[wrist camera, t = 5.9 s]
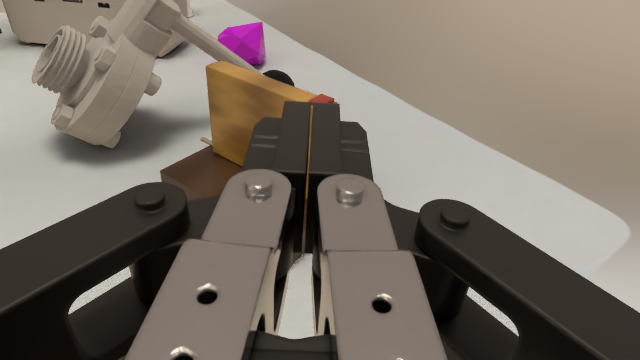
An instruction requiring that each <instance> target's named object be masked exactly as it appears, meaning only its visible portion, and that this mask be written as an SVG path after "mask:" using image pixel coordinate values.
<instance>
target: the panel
mask: <svg viewBox="0 0 640 360" xmlns="http://www.w3.org/2000/svg"><path fill="white" fill-rule="evenodd" d="M200 140H201V141H203V142H205V143H207V144H209V145H210V146H208V147H206V148H204V149H202V150H200V151H198V152H196V153H194V154H192V155H190V156H188V157H186V158H184V159H182V160H180V161H178V162H176V163H174V164H172V165H170V166H169V167H167V168H165V169H163V170H161V171H160V174H161V179H162V182H163V183H169V184H173V185H176V186H178V187H180V188H181V189H182V190H183V191H184V192H185V194H186V196H187V201H189V200H196V199H202V198H208V197H213V196H216V195H219V194H222V192H223V190H224V188H225V186H226V184H227V182H228V180H229V179H230V178H231V177H233V176H234V175H236V174H238V173H240V172H241V170H242V166H240V165H238V164H236V163H234V162H232V161H230V160H228V159H226V158H224V157H222V156H220V155H219V154H217V153H215V152H213V144H212V141H210V140H208V139H206V138H204V137H203V138H201V139H200ZM306 215H307V199H306V198H305V213H304V227H303V241H302V253H293V258H292V263H293V262H294V261H295V260H296V259H297V258H298V257H299V256H300V255H301V254H303V253H304V252H305V234H306Z"/></svg>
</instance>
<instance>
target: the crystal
mask: <svg viewBox="0 0 640 360" xmlns="http://www.w3.org/2000/svg"><path fill="white" fill-rule="evenodd" d="M218 42H220V43H221V44H223V45H224V46H225V47H227V48H228V49H229V50H231V51H232V52H233V53H235V54H236V55H238V56H239V57H240V58H242V59H243V60H244V61H246V62H247V63H248V64H250V65H258V64H261V63H262V62H263V60H264V58H265V57H266V56H265V44H264V35H263V25H262V22H259V23H253V24H247V25H241V26H235V27H228V28H227V29H225V30H224V31H223V32H222V33H221V34H220V35H219V37H218Z"/></svg>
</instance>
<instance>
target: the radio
mask: <svg viewBox="0 0 640 360" xmlns="http://www.w3.org/2000/svg"><path fill="white" fill-rule="evenodd" d="M2 1H3V4H4V7H5V10H6V13H7V16H8V19H9V22H10V25H11V28H12V31H13V33H14V34H16V35H17V37H18V38H19V39H20V41H22V42H26V43H27V44H30V43H41V44H47V43H48V42H49V40H50V39H51V37H52V36H53V35H54V33H55V32H56V31H57V30H58V29H59V28H60V27H61V26H63V25H64V26H66V25H69V26H70V28H74V29H75V30H76V31H79V32H80V33H81V34H84V35H85V36H86V41H87V44H88V43H89V41H90V40H91V39H92V36H91V35H89V31H90V26H91V24H92V22H93V21H94V20H95V19H96V18H97V17H98V16H103V17H104V18H106V19H107V20H109V21H110V20H112V19H114V18H115V16H116V15H117V14H118V12H119V11H120V9H121V8H122V6H123V5H124V3H125V2H126V1H127V0H2ZM173 1H174V2H175V3H176V4H177V5H178V6H179V7H180V8H181V13H180V14H182V15H183V16H184V17H186V18H187V19H188V11H187V0H173ZM169 29H170V31H171V32H172V37H171V38H170V40H169V41H168V42H167V44H166V45H165V46H164V48H163V49H162V50H161V52H160V53H159V54H158V57H163V55H165V54H167V53H168V52H170V51H171V50H173V49H174V48H175V47H177V46H178V45H180V44H181V43H182V42H183V40H184V39H185V38H184V37H183V36H181V35H180V34H178V33H177V32H175V31H174V30H172V29H171V28H169ZM87 44H86V45H87Z"/></svg>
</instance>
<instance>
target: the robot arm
mask: <svg viewBox="0 0 640 360" xmlns="http://www.w3.org/2000/svg"><path fill="white" fill-rule="evenodd" d="M310 113H311V102H302V101H285V102H284V107H283V112H282V117H281V118H277V117H264V118H263V119H262V120H260V121H259V122H258V123H257V124H255V125H254V129H253V132H252V135H251V139H250V142H249V146H248V149H247V153H246V156H245V159H244V163H243V166H242V170H241V172H240V173H238V174H236V175H234V176H233V177H231V178H230V179H229V180H228V182H227V184H226V186H225V188H224V190H223V192H222V194H219V195H216V196H213V197H208V198H202V199H196V200H189V201H187V196H186V194H185V192H184V191H183V190H182V189H181V188H180V187H178V186H176V185H173V184H169V183H163V182H153V183H146V184H141V185H138V186H135V187H133V188H130V189H128V190H126V191H124V192H122V193H120V194H117V195H115V196H113V197H111V198H109V199H107V200H105V201H103V202H100V203H98V204H96V205H94V206H92V207H90V208H88V209H86V210H83V211H81V212H79V213H77V214H75V215H73V216H71V217H68V218H66V219H64V220H62V221H60V222H58V223H56V224H54V225H51V226H49V227H47V228H45V229H43V230H41V231H39V232H37V233H34V234H32V235H30V236H28V237H26V238H24V239H22V240H20V241H17V242H15V243H13V244H11V245H9V246H7V247H5V248H2V249H0V360H640V313H639V312H637V311H636V310H634V309H633V308H631V307H629V306H628V305H626V304H625V303H623V302H622V301H620V300H618V299H617V298H615V297H614V296H612V295H611V294H609V293H607V292H606V291H604V290H603V289H601V288H600V287H598V286H596V285H595V284H593V283H592V282H590V281H589V280H587V279H585V278H584V277H582V276H581V275H579V274H578V273H576V272H574V271H573V270H571V269H570V268H568V267H567V266H565V265H563V264H562V263H560V262H559V261H557V260H556V259H554V258H552V257H551V256H549V255H548V254H546V253H545V252H543V251H541V250H540V249H538V248H537V247H535V246H534V245H532V244H530V243H529V242H527V241H526V240H524V239H523V238H521V237H519V236H518V235H516V234H515V233H513V232H512V231H510V230H508V229H507V228H505V227H504V226H502V225H501V224H499V223H497V222H496V221H494V220H493V219H491V218H490V217H488V216H486V215H485V214H483V213H482V212H480V211H479V210H477V209H475V208H474V207H472V206H470V205H468V204H466V203H463V202H460V201H456V200H449V199H438V200H433V201H430V202H428V203H426V204H424V205H423V206H422V208H421V209H420V212H419V213H417V212H414V211H410V210H406V209H403V208H400V207H397V206H395V205H392V204H391V203H389V202H387V201H386V200H384V199H383V195H382V192H381V190H380V188H379V187H378V186H377V185H376V184H375V183H374V181H373V175H372V168H371V161H370V154H369V147H368V141H367V134H366V131H365V130H364V129H363V128H362V127H361V126H360V125H359V124H358V122H345V121H340V107H339V104H336V103H319V102H313V115H312V130H311V145H310V161H309V177H308V196H307V215H306V234H305V253H311V254H313V259H312V277H311V286H312V304H313V322H314V336H313V337H308V338H302V339H288V338H284V337H281V336H278V331H279V326H280V321H281V316H282V311H283V306H284V301H285V296H286V291H287V286H288V281H289V270H290V268H291V265H292V258H293V253H302V241H303V227H304V213H305V198H306V184H307V169H308V152H309V132H310ZM128 266H129V269H130V272H131V277H129V278H128V279H126V280H125V281H123V282H121V283H120V284H118V285H116V286H115V287H113V288H112V289H110V290H108V291H107V292H105V293H103V294H102V295H100V296H99V297H97V298H95V299H94V300H92V301H90V302H89V303H87V304H86V305H84V306H82V307H81V308H79V309H77V310H76V311H74V312H73V313H71V314H69V315H68V312H69V309H70V307H71V305H72V303H73V302H74V301H75V300H76V299H77V298H78V297H79V296H80V295H81V294H83V293H84V292H86V291H87V290H89V289H91V288H93V287H94V286H96V285H98V284H99V283H101V282H103V281H104V280H106V279H108V278H109V277H111V276H113V275H114V274H116V273H118V272H119V271H121V270H123V269H124V268H126V267H128ZM469 287H471V288H472V289H473V290H474V291H476V292H477V293H478V294H480V295H481V296H482V297H483V298H485V299H486V300H487V301H489V302H490V303H491V304H492V305H494V306H495V307H496V308H498V309H499V310H500V311H501V312H503V313H504V314H505V315H506V316H508V317H509V318H510V319H511V320H512V322H513V323H514V324H515V326H516V328H517V330H518V333H519V337H518V336H517V335H516V334H515V333H513V332H512V331H511V330H510V329H508V328H507V327H506V326H505V325H503V324H502V323H501V322H500V321H498V320H497V319H496V318H495V317H493V316H492V315H491V314H490V313H488V312H487V311H486V310H485V309H483V308H482V307H481V306H480V305H478V304H477V303H476V302H474V301H473V300H472V299H471V298H469V297H468V296H467V295H466V294H467V291H468V289H469Z"/></svg>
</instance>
